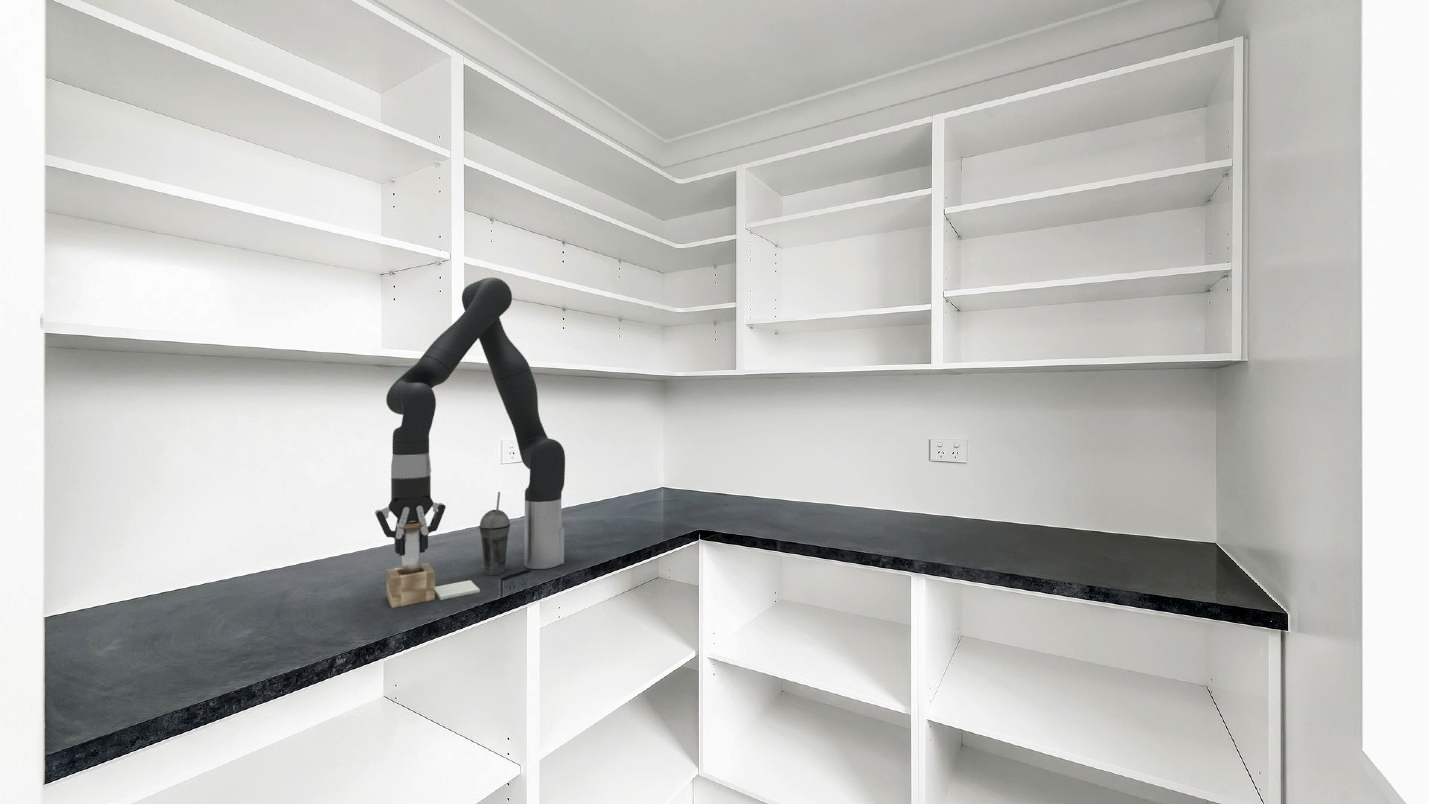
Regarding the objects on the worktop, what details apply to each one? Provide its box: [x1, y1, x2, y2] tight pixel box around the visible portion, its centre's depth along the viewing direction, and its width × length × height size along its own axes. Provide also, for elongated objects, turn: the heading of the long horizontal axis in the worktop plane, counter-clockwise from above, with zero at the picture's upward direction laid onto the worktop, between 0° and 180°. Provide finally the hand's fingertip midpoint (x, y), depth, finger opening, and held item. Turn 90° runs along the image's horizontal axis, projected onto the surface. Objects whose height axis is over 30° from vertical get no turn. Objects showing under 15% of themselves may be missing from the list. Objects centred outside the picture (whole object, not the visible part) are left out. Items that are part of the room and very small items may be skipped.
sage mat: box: [435, 580, 481, 601], centre depth 125 cm, size 8×8×1 cm
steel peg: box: [401, 521, 423, 575], centre depth 120 cm, size 5×5×15 cm
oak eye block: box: [386, 562, 436, 609], centre depth 120 cm, size 8×8×6 cm
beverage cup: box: [478, 491, 511, 576], centre depth 139 cm, size 7×7×20 cm
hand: (411, 553), depth 120 cm, fingers closed on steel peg, 3 cm apart
